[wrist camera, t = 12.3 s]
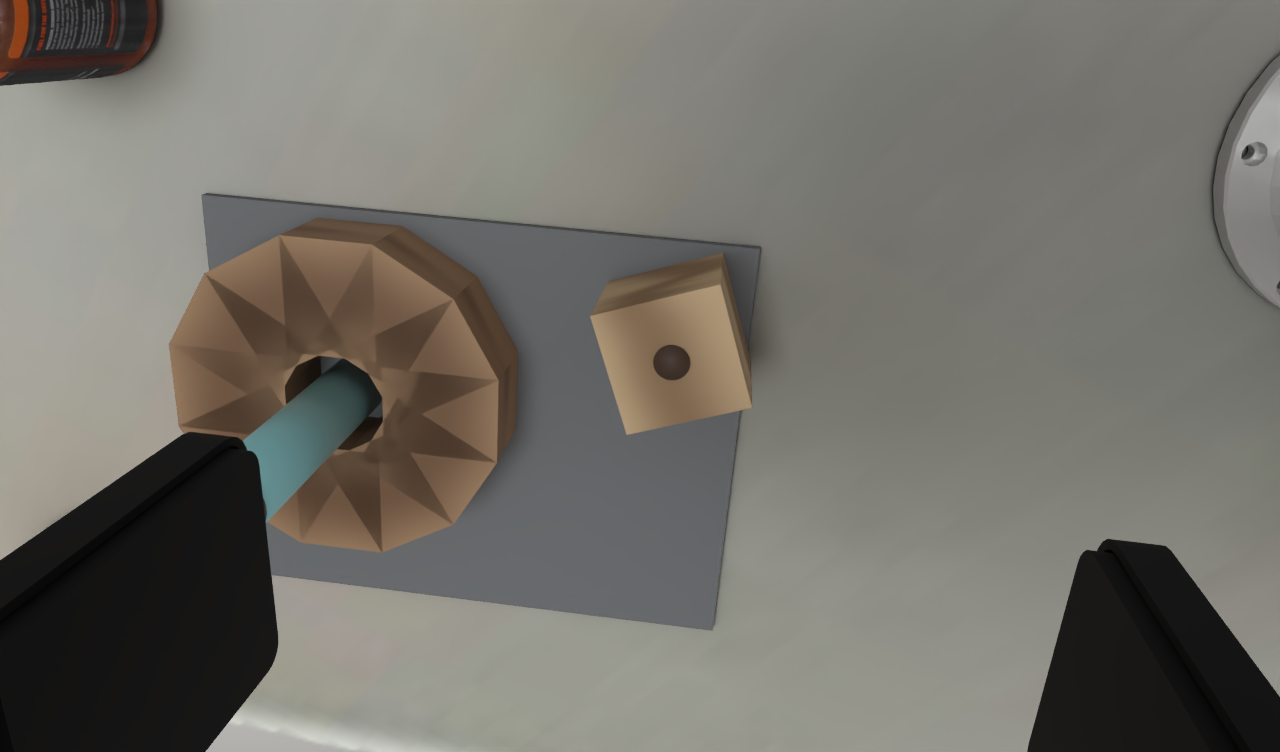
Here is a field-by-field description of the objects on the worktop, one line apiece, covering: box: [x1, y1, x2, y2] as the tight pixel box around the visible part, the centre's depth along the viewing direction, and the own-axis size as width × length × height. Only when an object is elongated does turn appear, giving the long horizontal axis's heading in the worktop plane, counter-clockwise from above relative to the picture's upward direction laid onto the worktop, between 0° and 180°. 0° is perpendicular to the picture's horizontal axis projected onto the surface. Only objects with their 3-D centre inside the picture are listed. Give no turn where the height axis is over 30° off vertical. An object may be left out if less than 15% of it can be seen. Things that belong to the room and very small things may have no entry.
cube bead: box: [590, 253, 752, 435], centre depth 37 cm, size 5×5×5 cm
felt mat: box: [202, 193, 760, 631], centre depth 42 cm, size 24×19×1 cm
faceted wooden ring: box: [169, 218, 518, 553], centre depth 40 cm, size 14×14×4 cm
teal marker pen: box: [243, 358, 382, 523], centre depth 35 cm, size 3×3×14 cm
